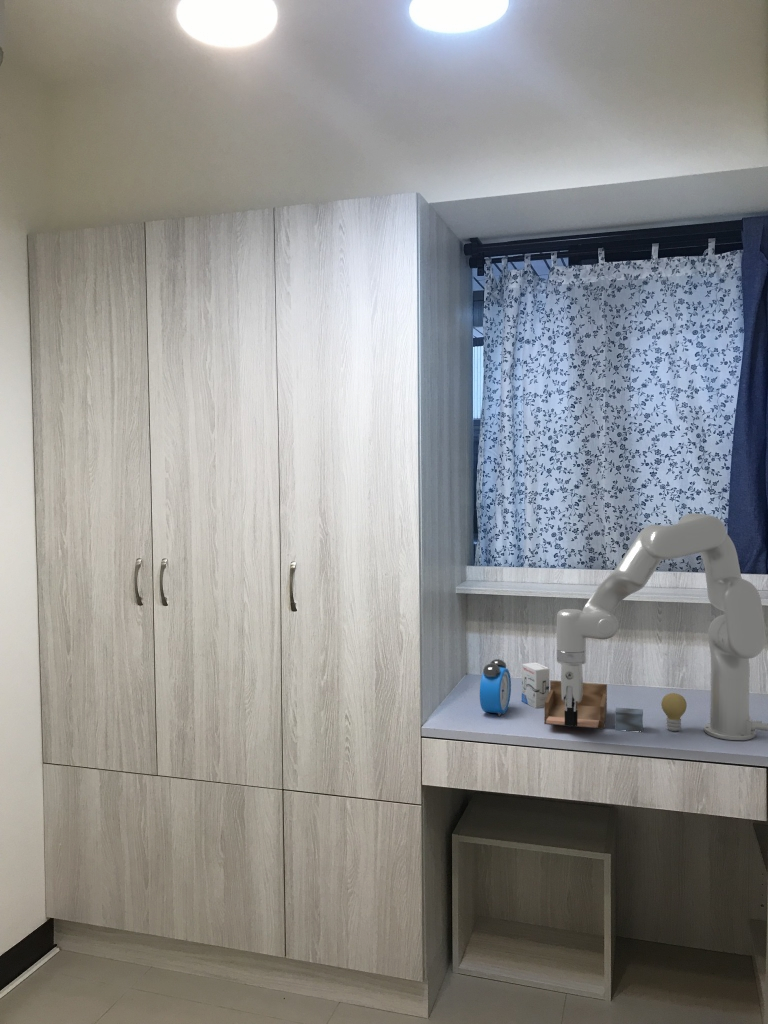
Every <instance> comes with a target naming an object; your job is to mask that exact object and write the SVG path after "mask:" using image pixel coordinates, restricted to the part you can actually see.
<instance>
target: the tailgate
mask: <svg viewBox="0 0 768 1024" xmlns="http://www.w3.org/2000/svg"><path fill="white" fill-rule="evenodd" d="M546 723H549V724H548V725H552V724H561V725H560V726H564V725H565V718H563V717H551V716H549V717H548V718H547V720H546ZM598 724H599V720H588V719H578V723H577V726H585V727H584V728H588V727H598Z"/></svg>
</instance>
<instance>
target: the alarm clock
mask: <svg viewBox="0 0 768 1024" xmlns="http://www.w3.org/2000/svg"><path fill="white" fill-rule="evenodd" d="M511 679H512V678H511V674H510V670H509V669H508V668H507V664H506V662H505V661H504V660H502V659H500V658H496V659H493V660H491V661H490V663H488V664H486V665H485V666H484V667H483V670H482V674H481V678H480V683H479V704H480V707H481V710H482V712H484V713H492V714H498V717H499V716H501V714H502V715H504V714H505V713H506V712H507V710H508V708H509V705H510V701H511V693H512V683H511V681H512V680H511Z"/></svg>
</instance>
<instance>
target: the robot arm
mask: <svg viewBox="0 0 768 1024" xmlns="http://www.w3.org/2000/svg"><path fill="white" fill-rule="evenodd" d="M698 553H699V554H700V556H701V558H702V562H703V567H704V573H705V574H704V575H705V581H706V588H707V589H706V590H707V596H708V597H707V598H708V600H709V603H710V604H711V605H712V606H713V607H714V608H716V609H718V610H720V611H722V612H723V613H724V614H721V615H718V616H717V617H716V616H715V618H714V619H713V620H712V621H711V622H710V625H709V627H708V630H707V631H708V633H707V636H708V638H707V639H708V644H709V653H710V706H709V707H710V710H709V711H710V713H709V714H710V716H709V717H710V719H709V720H710V721H709V723H706V724H704V726H703V731H704V733H706V734H707V735H709V736H711V737H714V738H718V739H721V740H726V741H727V740H729V741H748V740H752V739H754V738H755V737H756V730H758V731H759V730H760V731H767V732H768V723H767V722H763V721H762V720H753V719H751V716H750V678H751V667H750V666H751V665H750V659H753V658H755V657H757V656H759V655H760V654H761V653H762V651H763V650H764V648H765V645H766V630H765V629H766V627H765V619H764V610H763V603H762V598H761V594H760V593H759V590H758V588H757V587H756V586H755V585H754V584H753V583H752V582H750V581H749V580H747V579H743V578H742V573H741V569H740V568H741V567H740V564H739V563H740V562H739V557H738V553H737V550H736V547H735V544H734V542H733V540H732V539H731V536H730V535H728V533H727V527H726V526H725V524H724V522H723V521H722V520H721V519H719V518H718V517H717V516H714V515H709V514H704V513H703V514H702V513H696V512H693V513H687V514H685V515H683V516H682V517H681V518H680V519H679V520H678V522H677V523H676V524H671V525H660V524H650V525H647V526H645V527H643V528H642V529H641V530H640V532H639V533H638V534H637V537H635V539H634V541H633V542H632V543H631V545H630V547H629V548H628V550H627V551H626V553H625V554H624V556H623V557H622V559H621V560H620V562H619V564H618V565H617V566H616V568H615V569H614V570H613V571H612V572H611V573H610V574H608V576H607V577H606V578H605V579H604V580H603V581H602V582H601V583H600V584H599V585H598V587H597V588H595V590H594V591H593V593H592V594H591V595H590V597H589V598H588V600H587V602H586V603H585V605H584V607H583V608H582V610H580V609H576V608H565V609H560V610H559V611H557V614H556V663H558V664H560V681H561V695H562V700H563V701H565V725H566V726H567V727H576V726H577V723H578V710H576V709H577V701H578V703H579V702H581V700H582V696H583V683H584V682H583V681H584V680H583V679H584V677H583V676H584V675H583V665H584V664H586V663H587V660H586V659H587V639H597V640H609V639H611V638H613V637H614V636H615V635H616V634H617V632H618V630H619V621H618V619H617V617H616V616H615V615H614V614H613V613H614V612H615V610H616V608H617V607H618V606H619V605H620V603H621V602H622V601H624V600H625V598H627V597H628V596H630V595H632V594H635V593H636V592H639V591H640V590H642V589H643V588H644V587H645V586H646V585H647V583H648V582H649V580H650V579H651V577H652V575H654V573H655V572H656V570H657V567H659V565H661V562H662V561H663V560H675V559H677V558H683V557H688V556H691V555H694V554H698Z"/></svg>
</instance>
